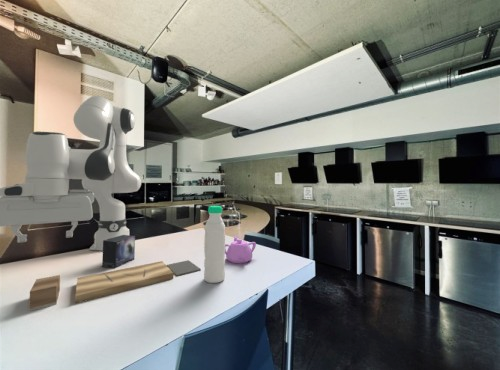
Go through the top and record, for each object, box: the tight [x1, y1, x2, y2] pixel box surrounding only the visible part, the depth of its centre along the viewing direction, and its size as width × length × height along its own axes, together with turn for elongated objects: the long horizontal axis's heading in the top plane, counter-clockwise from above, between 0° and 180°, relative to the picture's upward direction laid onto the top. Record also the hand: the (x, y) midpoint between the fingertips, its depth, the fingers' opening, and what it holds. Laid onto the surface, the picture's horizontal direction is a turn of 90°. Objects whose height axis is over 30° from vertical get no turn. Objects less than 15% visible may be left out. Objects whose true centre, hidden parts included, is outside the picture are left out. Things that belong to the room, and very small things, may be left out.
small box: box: [101, 234, 136, 269], centre depth 87 cm, size 11×6×10 cm, turn 168°
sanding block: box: [29, 274, 61, 312], centre depth 58 cm, size 9×5×5 cm, turn 38°
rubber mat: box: [166, 260, 202, 277], centre depth 82 cm, size 12×9×1 cm
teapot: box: [225, 235, 257, 264], centre depth 92 cm, size 12×14×9 cm
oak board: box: [74, 260, 175, 304], centre depth 70 cm, size 14×26×2 cm, turn 128°
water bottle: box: [203, 205, 226, 284], centre depth 72 cm, size 7×7×25 cm
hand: (46, 239), depth 58 cm, fingers open, 8 cm apart
